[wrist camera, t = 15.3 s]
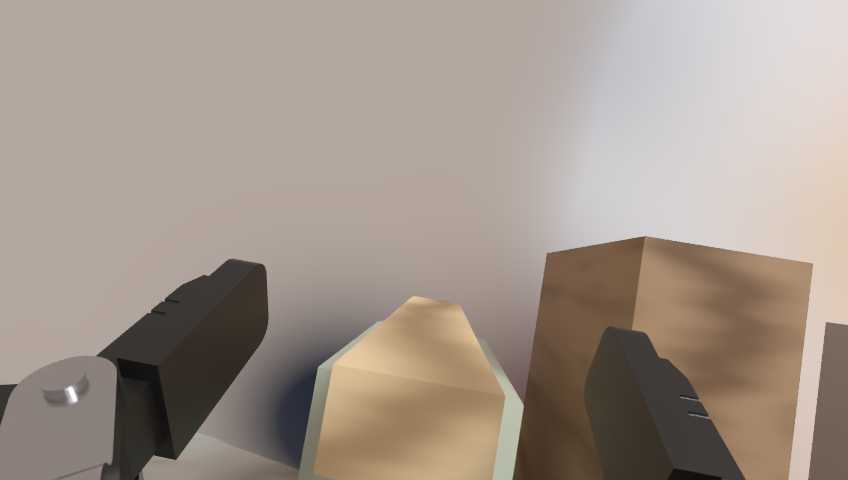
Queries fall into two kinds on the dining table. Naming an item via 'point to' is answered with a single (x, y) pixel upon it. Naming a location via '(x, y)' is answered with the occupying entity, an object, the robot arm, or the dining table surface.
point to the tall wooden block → (668, 346)
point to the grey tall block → (832, 409)
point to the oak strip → (413, 401)
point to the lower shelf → (507, 430)
